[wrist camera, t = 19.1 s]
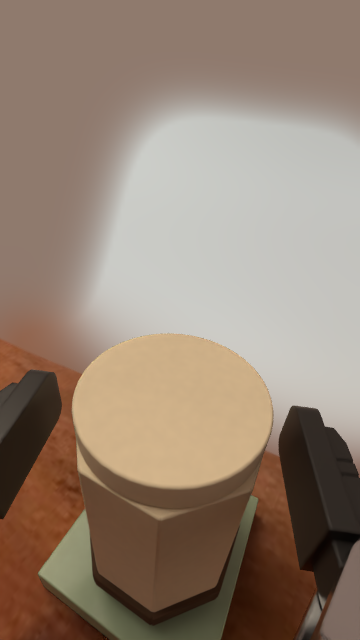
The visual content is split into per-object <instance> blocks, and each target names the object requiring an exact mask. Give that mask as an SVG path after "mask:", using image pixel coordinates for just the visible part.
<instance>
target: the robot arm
mask: <svg viewBox="0 0 360 640" xmlns="http://www.w3.org/2000/svg"><path fill="white" fill-rule="evenodd" d="M61 407H62V403H61V397H60V393H59V388H58V383H57V378H56V375H55V373H53V372H47V371H39V370H30V371H28V372H27V373H26V374H25V376H24V377H23V378H22V380H21V381H20V382H19V383H18V384H17V383H11V384H10V385H8V386H7V387H5V388H4V389H2V390H1V391H0V519H4V517H5V515H6V513H7V511H8V510H9V508H10V506H11V504H12V502H13V501H14V499H15V497H16V495H17V493H18V491H19V490H20V488H21V486H22V484H23V482H24V481H25V479H26V477H27V475H28V473H29V472H30V470H31V468H32V466H33V464H34V463H35V461H36V459H37V457H38V455H39V454H40V452H41V450H42V448H43V446H44V445H45V443H46V441H47V439H48V437H49V436H50V434H51V432H52V430H53V428H54V426H55V425H56V423H57V421H58V419H59V416H60V413H61ZM279 456H280V461H281V467H282V472H283V478H284V483H285V489H286V494H287V500H288V505H289V511H290V516H291V522H292V527H293V533H294V538H295V544H296V549H297V555H298V560H299V566H300V570H306V571H312V572H314V575H315V580H316V584H317V587H316V588H315V590H314V592H313V595H312V597H311V599H310V602H309V604H308V606H307V608H306V611H305V613H304V615H303V617H302V620H301V622H300V624H299V626H298V629H297V631H296V633H295V636H294V638H293V640H360V478H359V477H358V475H359V474H358V471H357V469H356V466H355V464H353V459H352V457H351V454H350V452H349V449H348V447H347V444H346V442H345V441H344V440H343V439H342V438H341V436H340V435H339V434H338V433H337V431H336V430H335V429H334V428H330V427H325V426H324V423H323V420H322V417H321V415H320V412H319V411H318V409H315V408H308V407H300V406H292V407H291V408H290V411H289V413H288V416H287V418H286V421H285V423H284V426H283V428H282V431H281V433H280V437H279Z"/></svg>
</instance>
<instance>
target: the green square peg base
mask: <svg viewBox="0 0 360 640" xmlns="http://www.w3.org/2000/svg"><path fill="white" fill-rule="evenodd" d="M257 503H258V498H256V497H254V496H252V495H251V496H250V499H249V501H248V504H247V506H246V509H245V512H244V514H243V517H242V520H241V522H240V527H239V531H238V534H237V537H236V541H235V544H234V547H233V551H232V554H231V557H230V561H229V564H228V567H227V570H226V574H225V577H224V580H223V584H222V587H221V590H220V593H219V595H218V597H217V598H216V599H215V600H213V601H210V602H208V603H206V604H203V605H201V606H199V607H196V608H194V609H192V610H189V611H187V612H185V613H182V614H180V615H178V616H175V617H173V618H171V619H168V620H166V621H164V622H161V623H159V624H157V625H154V626H152V624H151V625H149V624H148V623H146V622H145V621H144V620H142V619H141V618H140V617H138V616H137V615H136V614H134V613H133V612H132V611H130V610H129V609H128V608H126V607H125V606H124V605H122V604H121V603H120V602H118V601H117V600H116V599H114V598H113V597H112V596H110V595H109V594H108V593H106V592H105V591H104V590H102V589H101V588H100V587H98V586H97V585H96V583H95V582H94V578H93V571H92V558H91V544H90V530H89V525H88V520H87V515H86V510H85V509H84V511H83V512H82V513H81V515H80V516H79V518H78V519H77V520H76V522H75V523H74V524H73V526H72V527H71V528H70V530H69V531H68V533H67V534H66V535H65V537H64V538H63V539H62V541H61V542H60V543H59V545H58V546H57V548H56V549H55V550H54V552H53V553H52V554H51V556H50V557H49V558H48V560H47V561H46V563H45V564H44V565H43V567H42V568H41V569H40V571H39V572H38V576H39V578H40V580H41V582H42V584H43V586H44V587H45V588H46V589H48V590H49V591H50V592H51V593H53V594H54V595H55V596H56V597H58V598H59V599H60V600H61V601H62V602H64V603H65V604H66V605H67V606H69V607H70V608H71V609H72V610H74V611H75V612H76V613H77V614H78V615H80V616H81V617H82V618H83V619H85V620H86V621H87V622H88V623H90V624H91V625H92V626H93V627H95V628H96V629H97V630H98V631H99V632H101V633H102V634H103V635H104V636H106V637H107V638H108V639H109V640H221V637H222V634H223V630H224V626H225V622H226V619H227V615H228V611H229V607H230V604H231V600H232V596H233V593H234V589H235V585H236V581H237V578H238V574H239V570H240V567H241V563H242V559H243V555H244V552H245V548H246V544H247V541H248V537H249V533H250V529H251V526H252V522H253V518H254V515H255V511H256V507H257Z"/></svg>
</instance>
